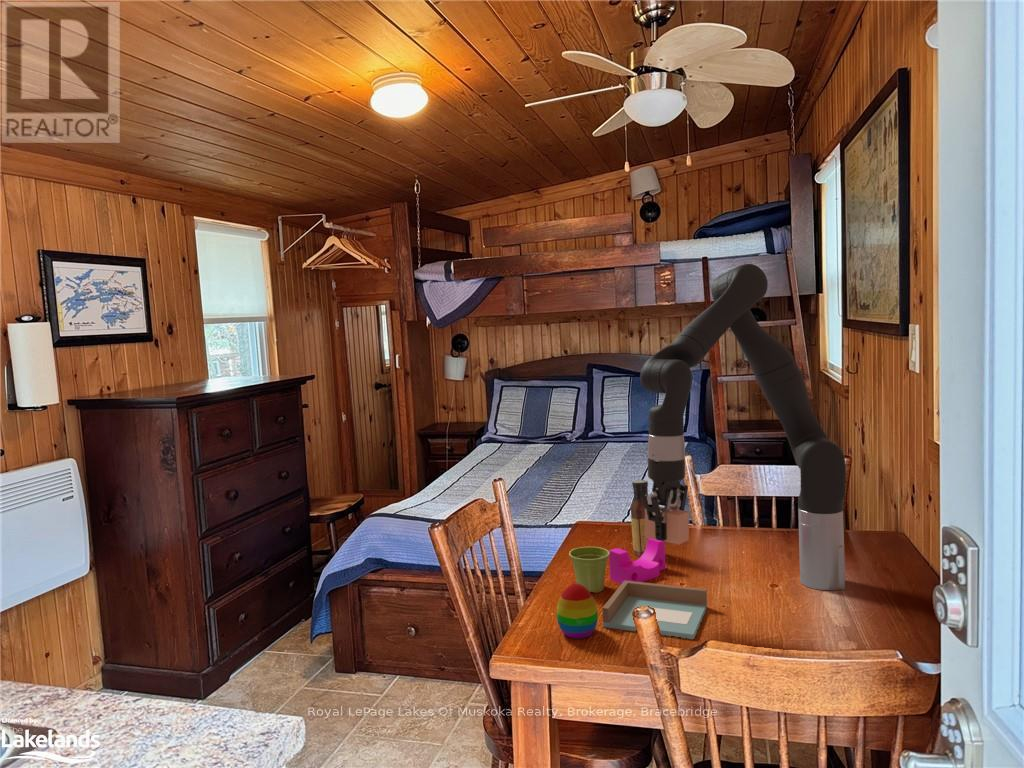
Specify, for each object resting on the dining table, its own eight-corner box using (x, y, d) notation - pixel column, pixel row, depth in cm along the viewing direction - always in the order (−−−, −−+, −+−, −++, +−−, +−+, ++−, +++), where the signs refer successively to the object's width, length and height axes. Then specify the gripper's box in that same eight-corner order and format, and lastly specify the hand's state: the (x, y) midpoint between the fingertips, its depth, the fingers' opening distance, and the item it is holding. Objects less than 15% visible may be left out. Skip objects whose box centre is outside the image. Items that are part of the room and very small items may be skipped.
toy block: (628, 588, 158) (627, 556, 158) (610, 580, 164) (608, 550, 163) (673, 572, 167) (672, 542, 166) (654, 566, 172) (653, 537, 171)
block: (655, 532, 146) (655, 505, 145) (688, 540, 140) (688, 511, 140) (645, 537, 143) (644, 509, 142) (678, 544, 137) (678, 515, 137)
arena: (707, 607, 144) (706, 589, 144) (693, 639, 130) (692, 619, 130) (624, 597, 152) (624, 580, 152) (603, 627, 138) (602, 607, 137)
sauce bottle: (660, 552, 181) (657, 479, 180) (652, 559, 176) (649, 484, 175) (637, 549, 185) (634, 477, 183) (628, 556, 180) (625, 482, 178)
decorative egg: (591, 644, 130) (589, 593, 130) (551, 639, 134) (549, 589, 133) (603, 626, 138) (601, 578, 137) (565, 622, 141) (563, 575, 140)
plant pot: (587, 578, 165) (586, 543, 165) (619, 587, 159) (617, 551, 158) (562, 590, 159) (560, 553, 158) (594, 599, 152) (592, 562, 151)
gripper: (668, 449, 148) (668, 526, 149) (631, 459, 138) (632, 542, 139) (699, 452, 143) (700, 533, 144) (664, 463, 132) (664, 549, 134)
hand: (666, 537), depth 141 cm, fingers closed on block, 4 cm apart
